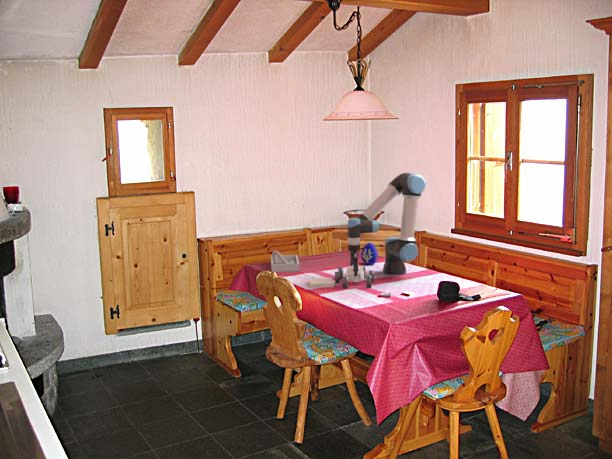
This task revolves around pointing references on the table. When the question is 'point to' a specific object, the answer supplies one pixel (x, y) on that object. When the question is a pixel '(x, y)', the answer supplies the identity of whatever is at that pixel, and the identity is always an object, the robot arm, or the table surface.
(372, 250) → the ornament
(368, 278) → the standoff posts
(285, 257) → the storage bin
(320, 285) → the parts stand
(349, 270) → the mechanical part
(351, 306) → the table surface
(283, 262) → the faucet
